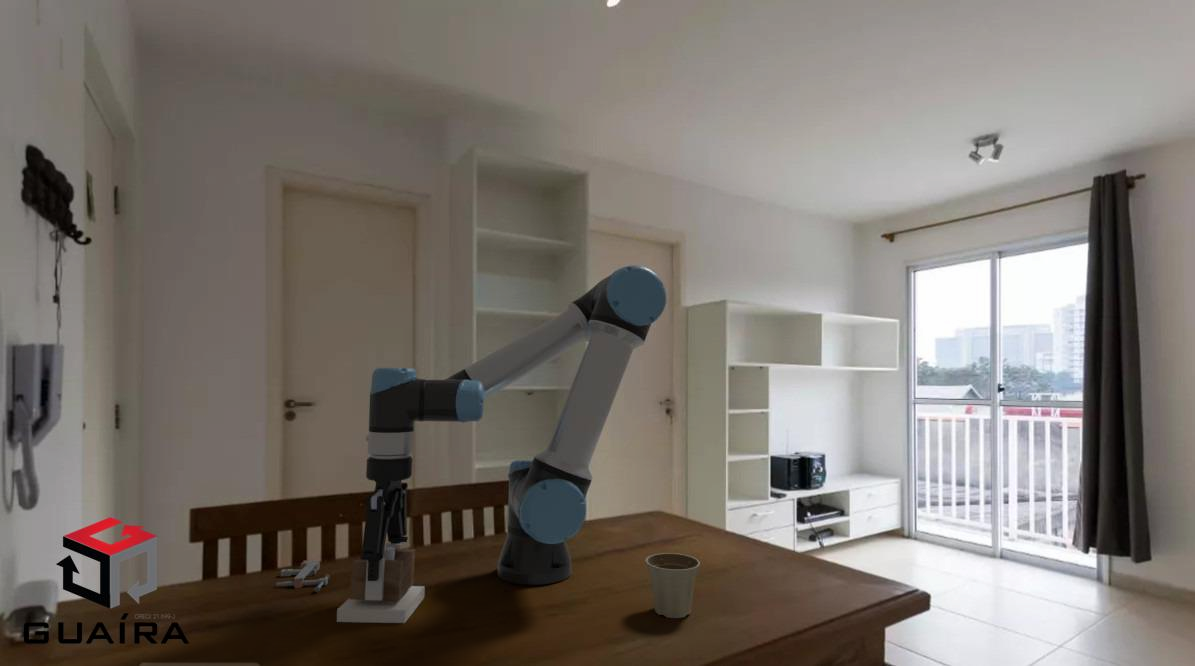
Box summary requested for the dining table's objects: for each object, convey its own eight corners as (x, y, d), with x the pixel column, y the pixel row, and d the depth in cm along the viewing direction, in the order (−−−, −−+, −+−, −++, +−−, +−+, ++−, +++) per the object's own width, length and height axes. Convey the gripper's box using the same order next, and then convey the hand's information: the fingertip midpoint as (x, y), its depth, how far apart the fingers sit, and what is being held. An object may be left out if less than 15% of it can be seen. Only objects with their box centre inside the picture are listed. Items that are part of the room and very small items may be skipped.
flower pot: (665, 627, 95) (665, 572, 96) (634, 606, 103) (635, 556, 104) (711, 617, 99) (711, 565, 100) (678, 598, 108) (678, 550, 108)
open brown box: (413, 583, 104) (415, 549, 105) (398, 600, 96) (400, 563, 97) (368, 582, 104) (370, 548, 105) (349, 599, 96) (352, 562, 97)
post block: (424, 597, 106) (426, 541, 106) (404, 623, 95) (407, 559, 95) (363, 596, 106) (366, 539, 106) (336, 621, 95) (339, 558, 95)
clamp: (288, 560, 120) (340, 558, 122) (287, 571, 120) (339, 569, 121) (261, 586, 105) (321, 583, 107) (260, 599, 105) (320, 595, 107)
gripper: (389, 448, 112) (383, 569, 111) (343, 463, 92) (334, 613, 90) (428, 449, 112) (423, 570, 111) (390, 464, 92) (383, 614, 90)
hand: (383, 589), depth 100 cm, fingers closed on open brown box, 8 cm apart
